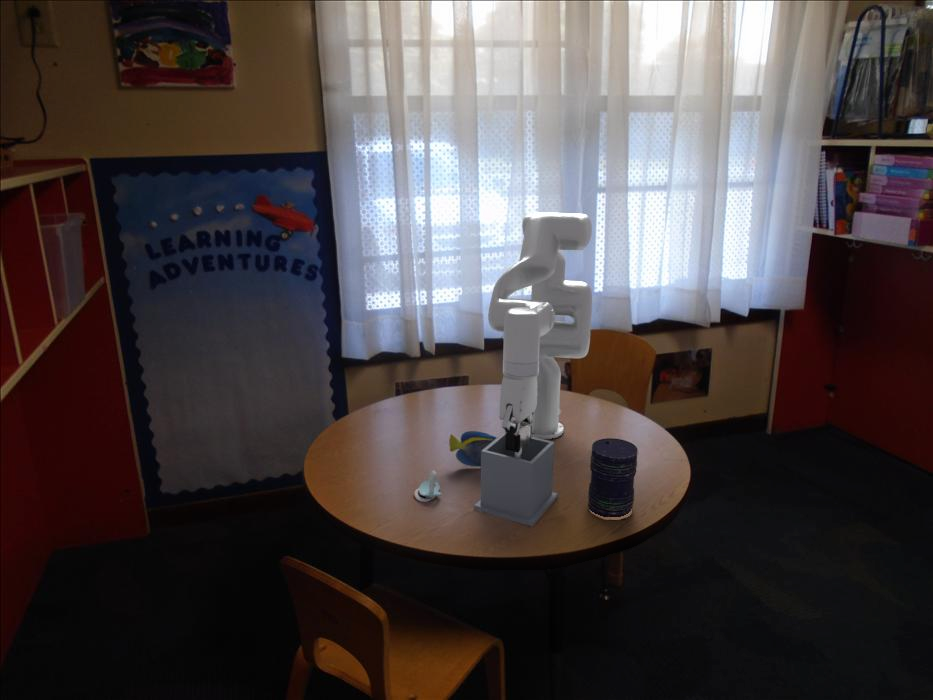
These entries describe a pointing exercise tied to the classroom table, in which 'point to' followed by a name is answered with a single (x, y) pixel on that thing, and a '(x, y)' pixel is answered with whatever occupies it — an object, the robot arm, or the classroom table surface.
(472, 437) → the tropical fish figurine
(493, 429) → the classroom table surface
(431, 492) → the pacifier
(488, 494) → the press housing
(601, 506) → the dark blue cylinder
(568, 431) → the classroom table surface
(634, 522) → the classroom table surface
